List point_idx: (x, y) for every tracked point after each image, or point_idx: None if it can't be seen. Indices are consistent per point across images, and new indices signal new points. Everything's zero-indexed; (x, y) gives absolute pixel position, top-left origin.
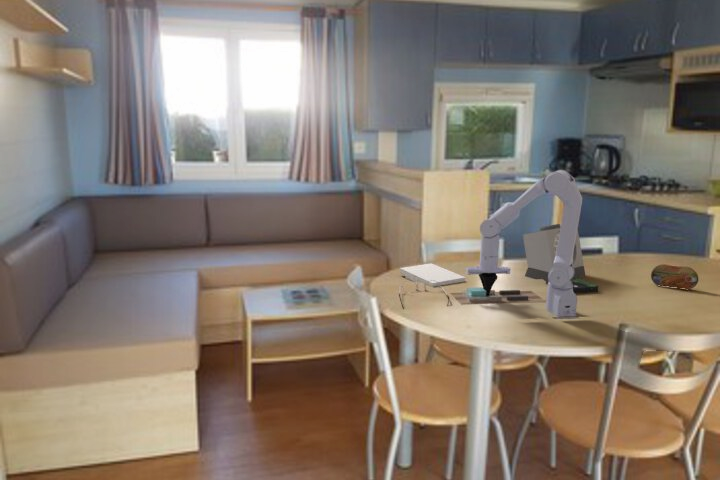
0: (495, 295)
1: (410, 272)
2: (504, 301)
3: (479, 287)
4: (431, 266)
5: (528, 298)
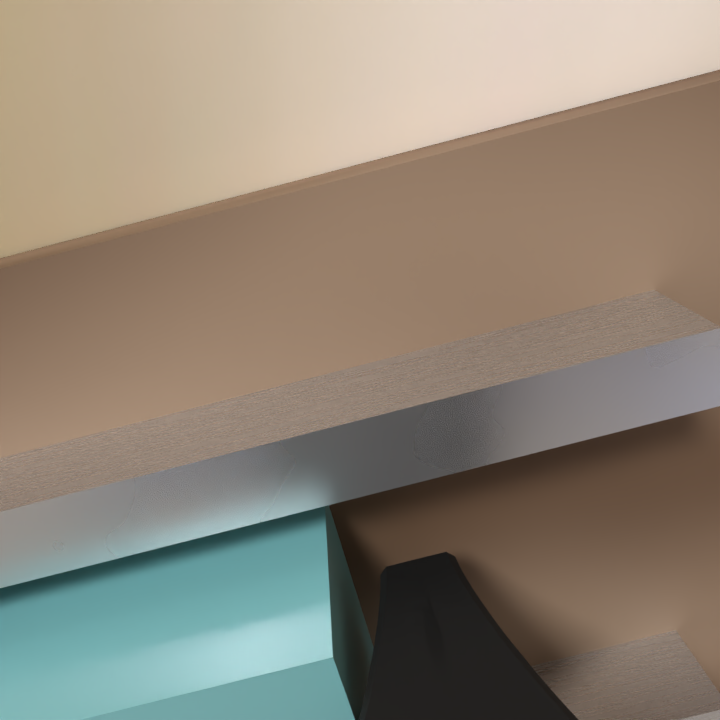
0: None
1: None
2: None
3: (255, 677)
4: None
5: None
